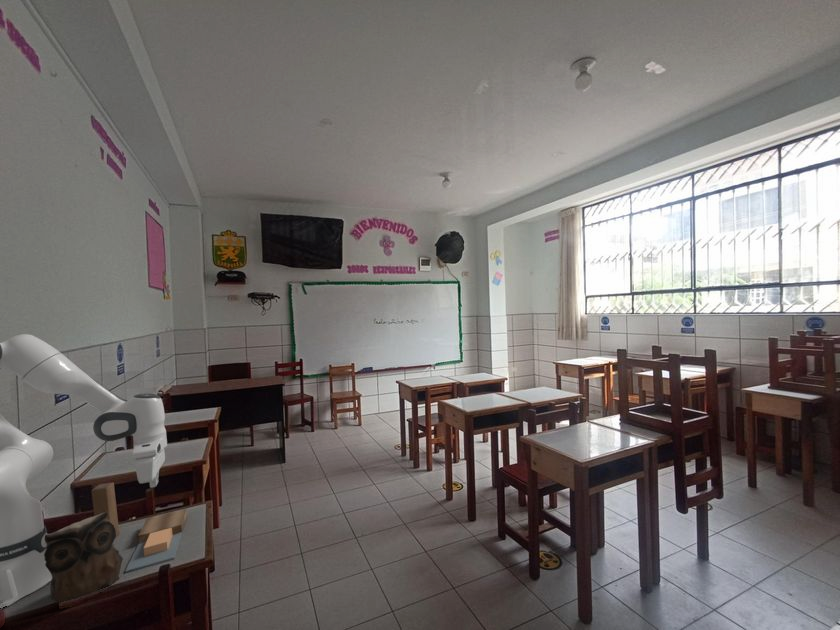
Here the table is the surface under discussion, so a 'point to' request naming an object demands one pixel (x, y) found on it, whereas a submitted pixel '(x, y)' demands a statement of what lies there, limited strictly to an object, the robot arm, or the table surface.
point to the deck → (163, 524)
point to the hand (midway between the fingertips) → (154, 485)
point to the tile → (158, 541)
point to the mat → (153, 555)
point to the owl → (82, 558)
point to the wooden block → (105, 502)
